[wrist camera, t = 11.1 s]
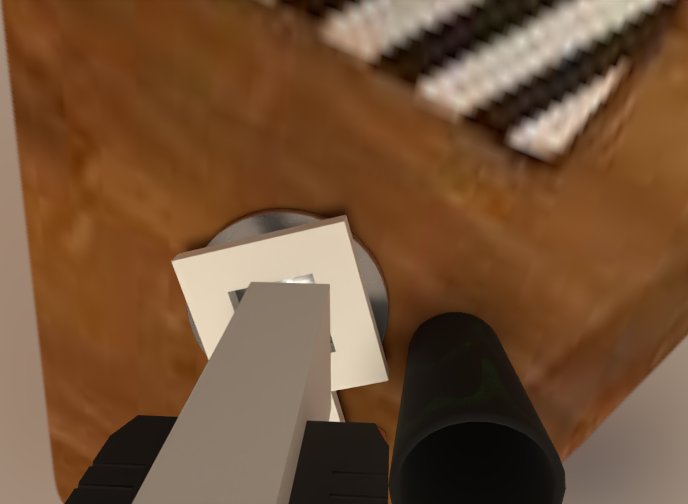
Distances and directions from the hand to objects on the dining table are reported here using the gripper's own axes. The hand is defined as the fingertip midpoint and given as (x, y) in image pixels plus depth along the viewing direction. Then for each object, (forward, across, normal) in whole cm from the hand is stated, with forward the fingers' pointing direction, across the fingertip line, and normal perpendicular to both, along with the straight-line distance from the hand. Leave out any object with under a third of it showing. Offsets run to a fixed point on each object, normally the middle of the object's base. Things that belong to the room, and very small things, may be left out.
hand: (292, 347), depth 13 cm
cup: (+25, +6, -14) cm, 29 cm away
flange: (+23, -3, -14) cm, 27 cm away
